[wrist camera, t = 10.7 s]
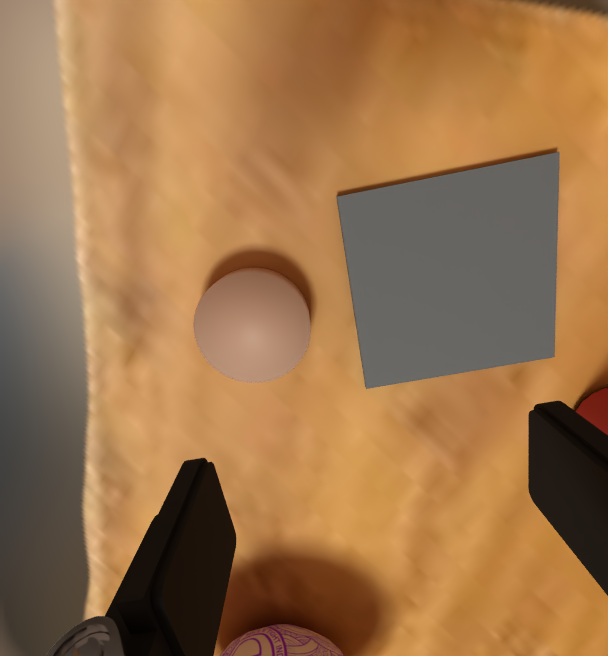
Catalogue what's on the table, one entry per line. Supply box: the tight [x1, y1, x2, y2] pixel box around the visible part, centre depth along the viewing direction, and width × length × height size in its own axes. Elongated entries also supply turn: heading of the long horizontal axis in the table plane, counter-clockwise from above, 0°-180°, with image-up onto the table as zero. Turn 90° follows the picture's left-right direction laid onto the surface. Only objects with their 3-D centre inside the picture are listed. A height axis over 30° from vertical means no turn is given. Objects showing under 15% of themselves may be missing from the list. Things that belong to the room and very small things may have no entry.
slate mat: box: [337, 152, 559, 389], centre depth 29 cm, size 16×16×1 cm
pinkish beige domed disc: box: [194, 267, 311, 383], centre depth 29 cm, size 9×9×3 cm
